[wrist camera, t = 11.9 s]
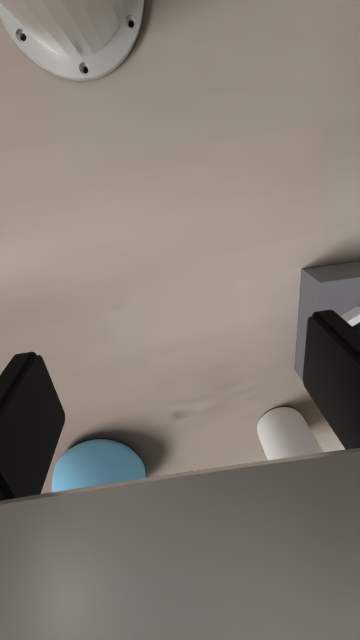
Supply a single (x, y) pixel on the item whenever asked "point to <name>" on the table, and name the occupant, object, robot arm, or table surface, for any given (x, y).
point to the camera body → (327, 299)
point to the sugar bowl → (96, 465)
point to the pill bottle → (286, 434)
